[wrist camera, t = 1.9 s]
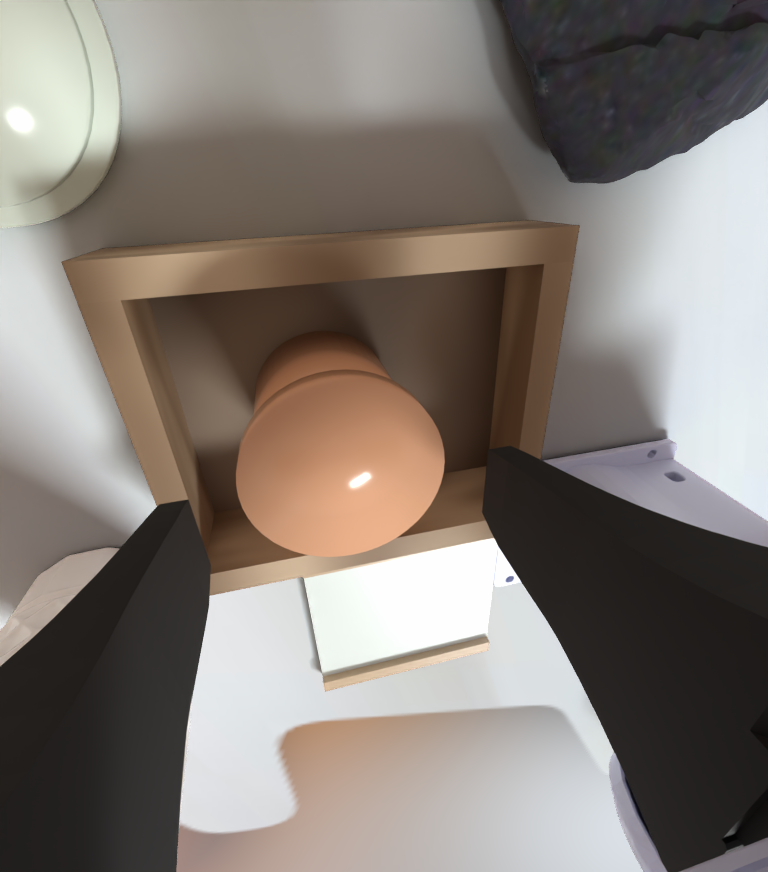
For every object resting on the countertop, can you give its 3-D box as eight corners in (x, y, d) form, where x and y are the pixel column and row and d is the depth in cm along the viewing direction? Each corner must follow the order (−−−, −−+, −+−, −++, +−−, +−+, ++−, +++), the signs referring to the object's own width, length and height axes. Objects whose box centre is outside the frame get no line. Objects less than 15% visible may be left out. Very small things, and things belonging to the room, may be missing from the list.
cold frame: (528, 220, 15) (601, 227, 12) (500, 473, 21) (544, 527, 17) (102, 248, 13) (43, 268, 10) (197, 526, 18) (180, 601, 15)
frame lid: (495, 513, 22) (504, 525, 21) (481, 636, 27) (488, 650, 26) (299, 550, 20) (300, 566, 20) (323, 674, 25) (325, 691, 25)
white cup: (13, 656, 20) (-183, 1009, 11) (14, 522, 17) (-255, 869, 8) (197, 659, 22) (153, 943, 14) (228, 545, 19) (195, 821, 11)
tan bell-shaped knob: (393, 314, 15) (447, 367, 11) (397, 448, 18) (441, 537, 13) (231, 331, 14) (211, 397, 10) (261, 469, 17) (258, 573, 12)
